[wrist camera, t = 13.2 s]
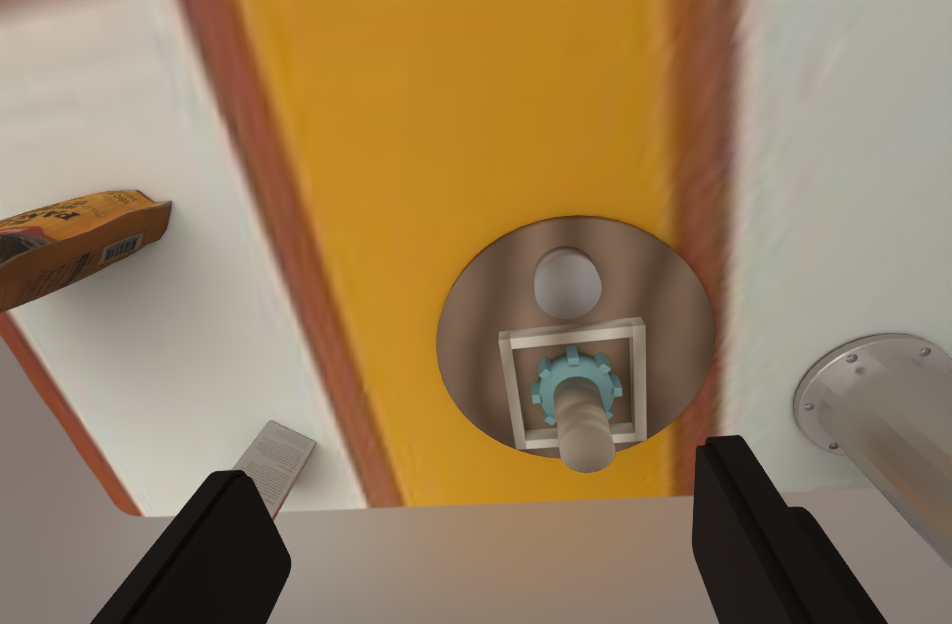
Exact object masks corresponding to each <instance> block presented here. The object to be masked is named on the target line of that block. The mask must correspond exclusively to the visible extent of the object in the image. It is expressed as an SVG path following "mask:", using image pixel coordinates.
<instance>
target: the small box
mask: <svg viewBox="0 0 952 624" xmlns="http://www.w3.org/2000/svg"><path fill="white" fill-rule="evenodd" d="M315 445H316V442H315V441H313V440H310V439H308V438H306V437H304V436H302V435H300V434H298V433H296V432H294V431H292V430H290V429H288V428H285V427H283V426H281V425H279V424H277V423H275V422H273V421H269V422H268V423H267V424H266V426H265V427H264V428H263V430H262V431H261V432H260V433H259V435H258V436H257V437H256V439H255V440H254V441H253V443H252V444H251V445H250V447H249V448H248V449H247V450H246V452H245V453H244V454H243V456H242V457H241V458H240V459H239V461H238V462H237V463H236V465H235V466H234V467H233V468H232V470H243V471H244V472H245V473H246V474H247V476H250V477H251V478H252V479H253V480H254V483H255V485H256V487H257V489H258V491H259V493H260V495H261V497H262V499H263V501H264V503H265V505H266V507H267V509H268V511H269V514H270V516H271V518H272V520H273V521H274V519H275V517H276V516H277V514H278V512H279V510H280V508H281V507H282V505H283V503H284V501H285V500H286V498H287V496H288V494H289V492H290V491H291V489H292V487H293V485H294V483H295V481H296V479H297V477H298V476H299V474H300V472H301V470H302V468H303V467H304V465H305V463H306V461H307V459H308V457H309V456H310V454H311V452H312V450H313V448H314V447H315Z"/></svg>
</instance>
